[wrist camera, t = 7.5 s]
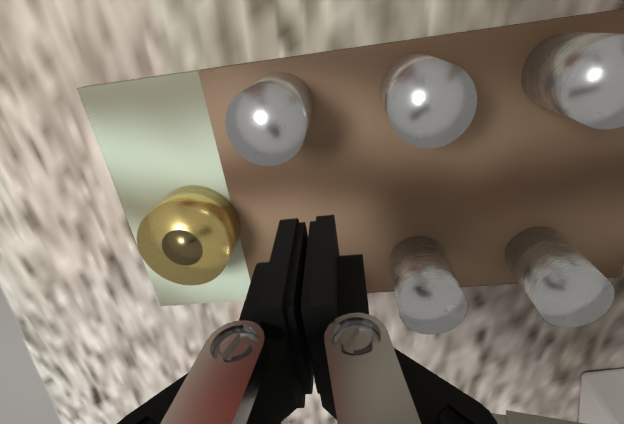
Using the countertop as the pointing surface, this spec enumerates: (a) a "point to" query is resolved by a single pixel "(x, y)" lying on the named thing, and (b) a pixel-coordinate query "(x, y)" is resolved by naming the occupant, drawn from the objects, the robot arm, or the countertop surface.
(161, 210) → the brass knob
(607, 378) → the medicine bottle
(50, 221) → the countertop surface
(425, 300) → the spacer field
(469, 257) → the board
